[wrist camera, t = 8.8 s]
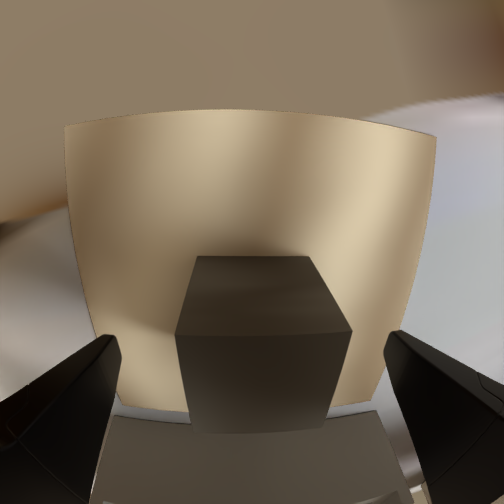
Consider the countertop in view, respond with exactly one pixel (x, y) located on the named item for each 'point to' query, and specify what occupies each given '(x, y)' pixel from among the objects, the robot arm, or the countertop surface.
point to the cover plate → (247, 257)
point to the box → (250, 465)
